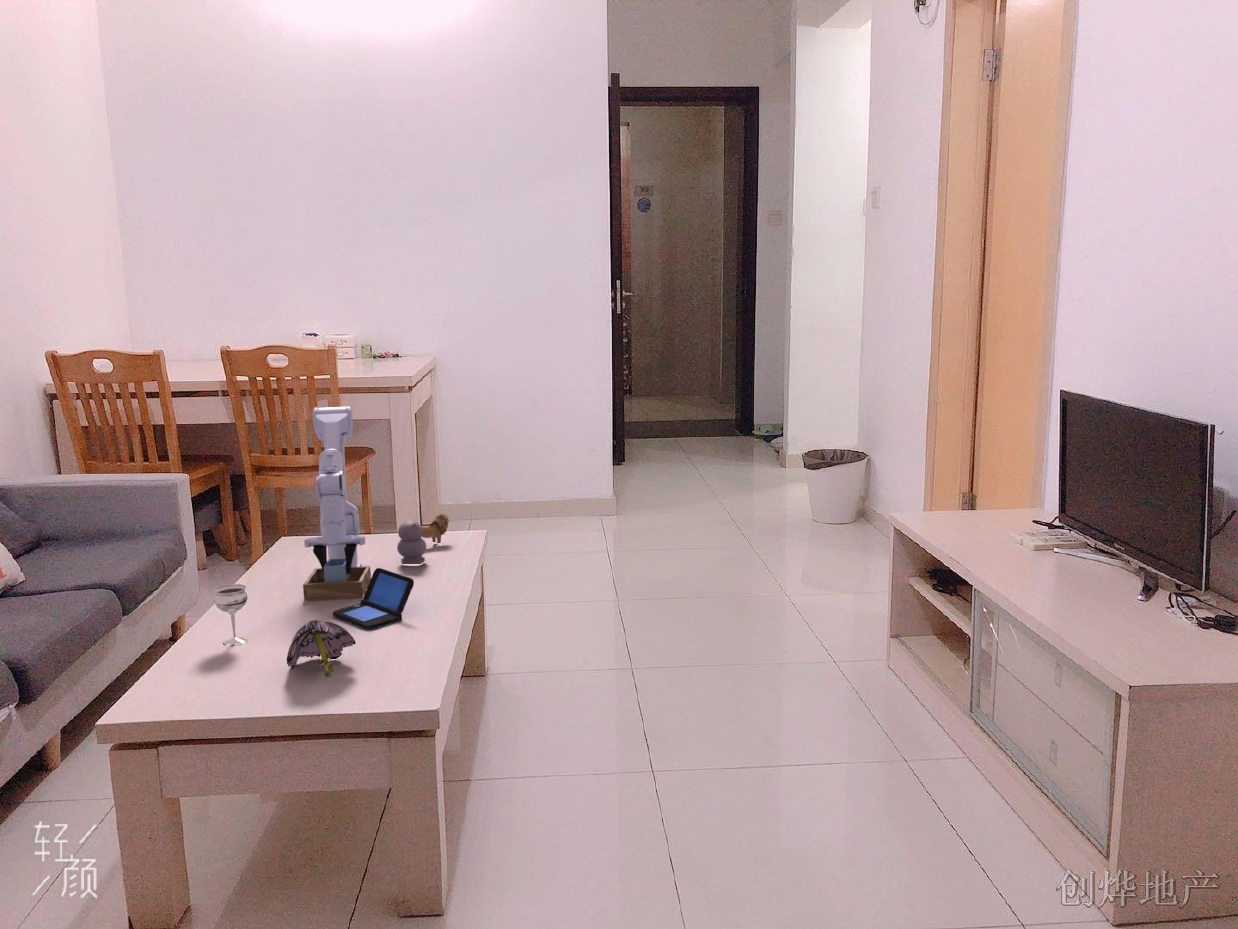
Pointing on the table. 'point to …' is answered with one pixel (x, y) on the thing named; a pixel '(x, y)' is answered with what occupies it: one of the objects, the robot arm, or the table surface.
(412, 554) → the grey rounded bulbous piece
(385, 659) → the table surface
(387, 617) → the handheld game console
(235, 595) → the wineglass
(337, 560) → the blue crate
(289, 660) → the dark domed piece
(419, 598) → the table surface
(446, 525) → the lion figurine
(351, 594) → the tray
